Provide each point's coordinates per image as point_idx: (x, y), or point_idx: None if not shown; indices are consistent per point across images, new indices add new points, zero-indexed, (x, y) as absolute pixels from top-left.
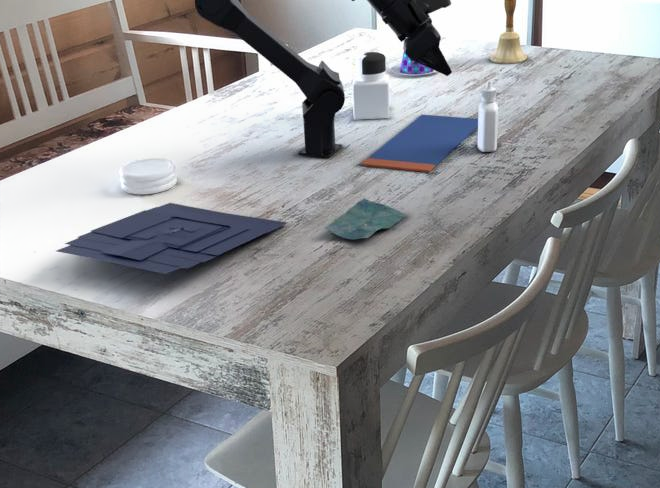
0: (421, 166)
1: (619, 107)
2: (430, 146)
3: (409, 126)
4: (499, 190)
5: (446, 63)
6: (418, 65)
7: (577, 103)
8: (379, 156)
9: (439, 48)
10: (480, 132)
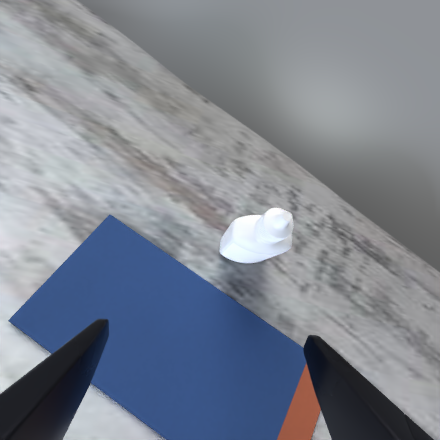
0: None
1: (138, 56)
2: (220, 343)
3: None
4: (399, 279)
5: (361, 378)
6: None
7: (94, 82)
8: None
9: (70, 364)
10: (263, 259)
